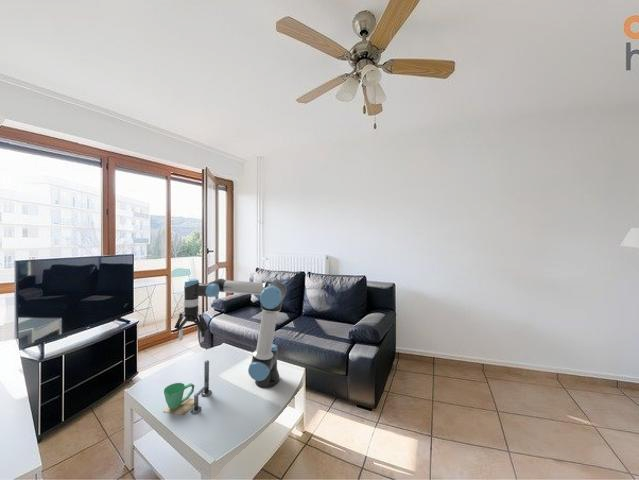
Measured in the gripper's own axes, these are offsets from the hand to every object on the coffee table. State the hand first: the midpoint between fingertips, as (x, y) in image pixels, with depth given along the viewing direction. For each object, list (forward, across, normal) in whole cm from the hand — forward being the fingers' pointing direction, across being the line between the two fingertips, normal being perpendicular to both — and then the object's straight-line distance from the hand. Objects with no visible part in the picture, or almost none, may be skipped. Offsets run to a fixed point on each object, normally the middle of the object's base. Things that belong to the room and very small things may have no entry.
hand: (191, 341), depth 154 cm
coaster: (+29, -5, +15) cm, 33 cm away
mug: (+28, -4, +15) cm, 32 cm away
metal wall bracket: (+29, -14, +10) cm, 33 cm away
